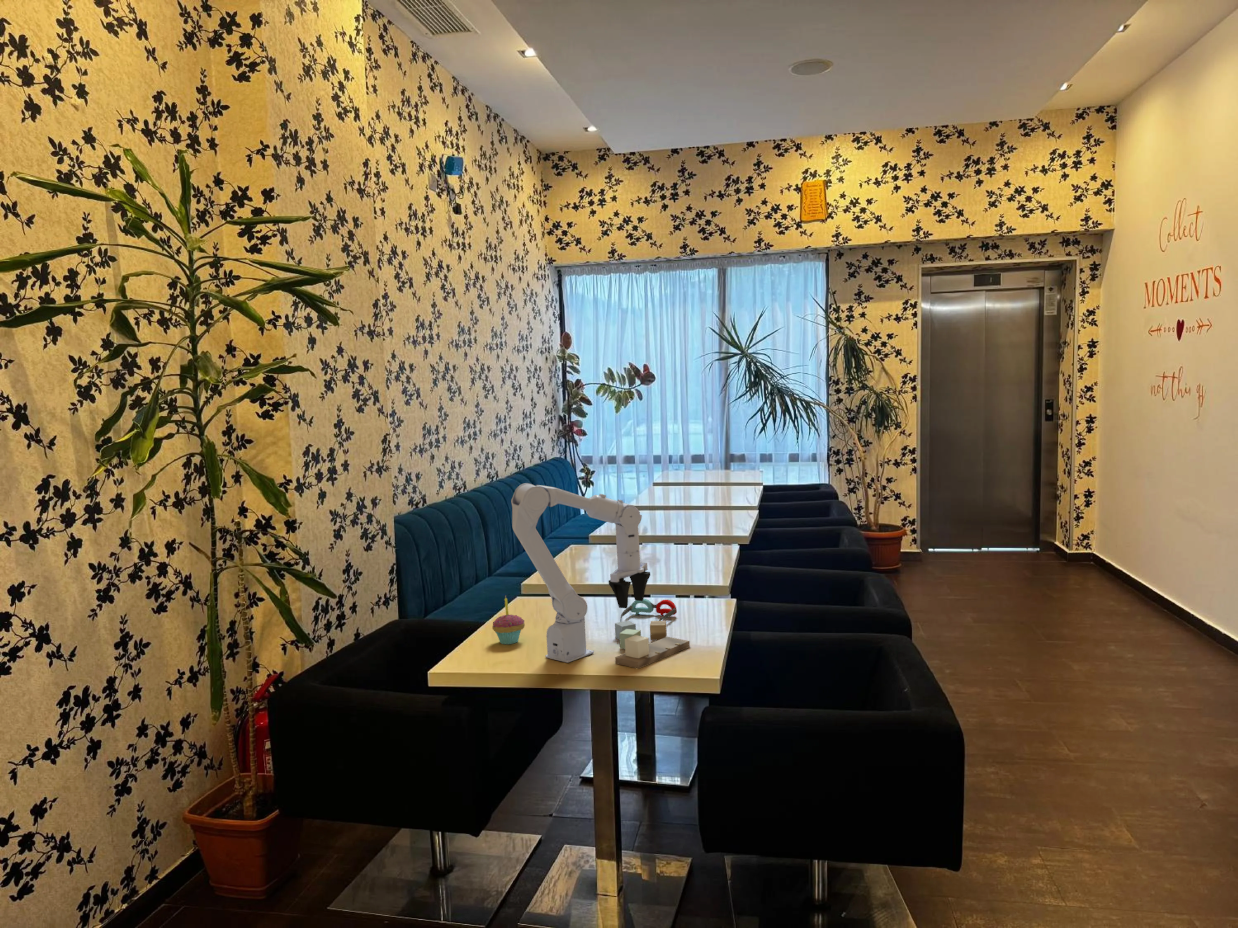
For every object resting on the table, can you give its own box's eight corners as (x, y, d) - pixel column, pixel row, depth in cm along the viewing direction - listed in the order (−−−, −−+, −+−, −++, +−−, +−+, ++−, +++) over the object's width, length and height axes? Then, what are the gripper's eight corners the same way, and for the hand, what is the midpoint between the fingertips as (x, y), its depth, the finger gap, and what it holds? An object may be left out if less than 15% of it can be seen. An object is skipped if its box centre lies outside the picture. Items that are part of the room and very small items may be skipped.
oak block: (665, 640, 218) (665, 624, 217) (650, 640, 218) (649, 625, 218) (666, 635, 222) (666, 620, 221) (651, 635, 222) (650, 621, 222)
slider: (638, 658, 198) (637, 641, 198) (625, 655, 201) (624, 639, 201) (649, 654, 201) (648, 637, 201) (636, 651, 204) (635, 634, 204)
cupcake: (490, 639, 225) (487, 595, 224) (521, 635, 228) (519, 591, 227) (497, 648, 217) (494, 602, 216) (529, 643, 220) (527, 598, 219)
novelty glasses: (678, 616, 241) (678, 599, 241) (661, 631, 227) (660, 612, 227) (633, 614, 246) (632, 597, 246) (613, 627, 233) (613, 610, 232)
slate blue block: (622, 641, 218) (622, 626, 218) (615, 638, 222) (614, 623, 221) (636, 638, 220) (635, 623, 220) (628, 635, 224) (628, 620, 223)
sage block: (634, 650, 210) (633, 634, 210) (620, 648, 212) (619, 633, 212) (641, 645, 214) (640, 630, 214) (627, 644, 216) (626, 628, 215)
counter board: (638, 668, 196) (637, 661, 196) (615, 663, 201) (615, 656, 200) (689, 646, 211) (689, 640, 211) (667, 642, 215) (667, 635, 215)
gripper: (626, 557, 204) (629, 612, 206) (656, 546, 217) (659, 598, 218) (602, 555, 208) (605, 609, 210) (633, 545, 220) (636, 596, 222)
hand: (631, 604), depth 214 cm, fingers open, 7 cm apart
